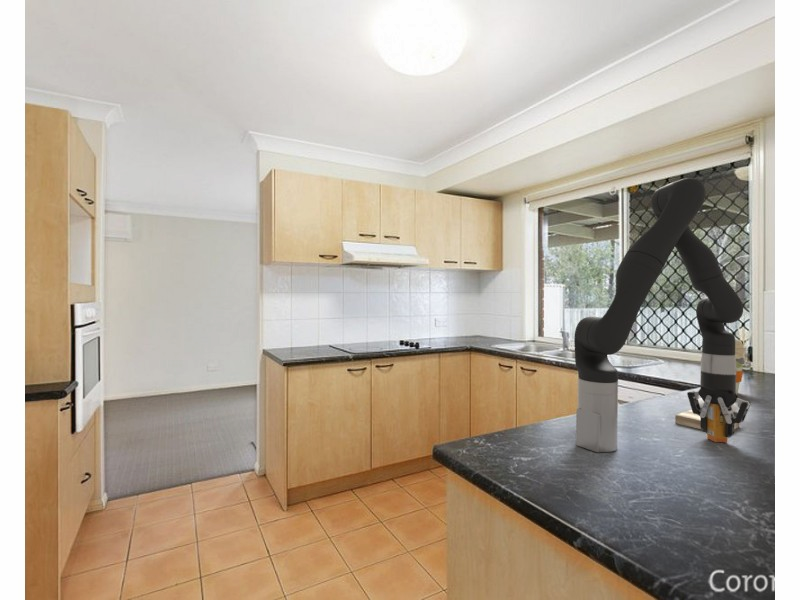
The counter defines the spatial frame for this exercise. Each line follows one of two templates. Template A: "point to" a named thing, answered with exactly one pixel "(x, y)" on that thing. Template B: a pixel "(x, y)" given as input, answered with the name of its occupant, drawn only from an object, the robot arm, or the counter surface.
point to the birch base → (692, 420)
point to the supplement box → (716, 424)
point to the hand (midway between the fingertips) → (717, 433)
